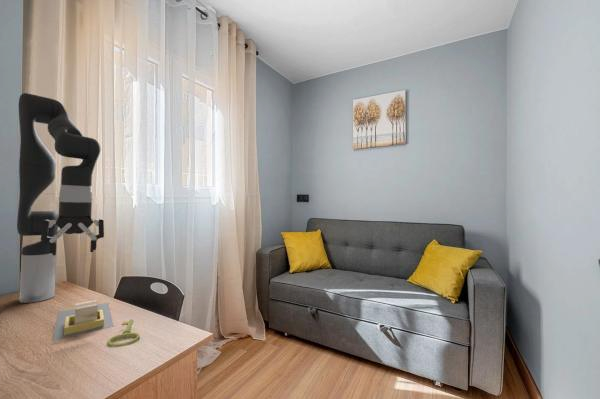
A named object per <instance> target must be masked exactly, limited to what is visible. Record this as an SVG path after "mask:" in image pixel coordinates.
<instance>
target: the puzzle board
mask: <svg viewBox="0 0 600 399" xmlns="http://www.w3.org/2000/svg"><path fill="white" fill-rule="evenodd" d="M97 304H98V303H97ZM74 323H75V308H73V309H68V310H62V311H58V312H57V318H56V321H55V327H54V330H53V336H52V340H51V341H52V342H53V341H58V340H62V339H66V338H70V337H74V336H80V335H83V334H87V333H91V332H95V331H98V330H99V331H100V330H105V329H108V328H112V327H114V322H113V318H112V312H111V309H110V305H109V302H104V303H100V304H98V311H97V320H94V321H89V322H85V323H80V324H75V325H74Z"/></svg>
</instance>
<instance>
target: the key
mask: <svg viewBox="0 0 600 399" xmlns="http://www.w3.org/2000/svg"><path fill="white" fill-rule="evenodd" d="M133 323H134V320H133V319H129V320H128V321H123V322H122V323H121V325H122V326H123V325H126V328H125V330H123V332H122V333H121V334H120V333H119V334H117V335H114V336H111V337H110V338H109V339H108V340H107V343H106V345H107V346H108V347H111V346H117V347H123V346H127V345H131V344H134V343H136V342H137V340H138V341H139V339H140V337H141V336H140V334H139V333H138V332H131V329H132V326H133ZM127 337H128V338H133V339H131V340H129V341H125V342H117V343H116V342H114V341H117V339H118V340H122V339H125V338H126V339H127ZM133 342H134V343H133ZM122 345H123V346H122Z"/></svg>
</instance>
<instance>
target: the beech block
mask: <svg viewBox="0 0 600 399" xmlns="http://www.w3.org/2000/svg"><path fill="white" fill-rule="evenodd" d="M74 305H75V306H74V309H75V323H74V325H75V324H80V323H85V322H89V321H94V320H97V311H98V300H97V299H95V300H93V299H92V300H88V301H84V302H83V301H82V302H78V303H75V304H74Z"/></svg>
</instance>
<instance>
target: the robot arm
mask: <svg viewBox="0 0 600 399" xmlns="http://www.w3.org/2000/svg"><path fill="white" fill-rule="evenodd" d="M18 98H19V99H18V117H19V119H18V120H19V133H20V146H19V149H20V150H19V160H18V161H19V163H18V169H19V170H18V174H19V176H18V177H19V200H18V209H17V210H18V211H17V219H16V220H17V221H16V230H17V234H19V236H22V237H29V236H31V237H32V236H34V237H35V236H40V240H39V241H37V242H35V243H32V244H31V243H30V244H27V245H25V246H23V247H22V249H21V261H20V262H21V263H20V265H21V266H20V267H21V268H20V283H19V299H18V301H19V303H21V304H23V303H24V304H29V303H38V302H43V301H47V300H49V299H51V298H53V297H54V296H55V290H56V289H55V288H56V273H57V272H56V269H57V268H56V267H57V251H58V250H57V248H58V246H57V245H58V244H57V243H58V242H57V241H58V239H59V238H60V237H62V236H63V235H64V234H66V235H72V234H76V235H77V234H81V235H82V234H84V233H85V234H86V235H87V236H88V237H89V238H90V249H89V252H90V253H93V252H94V251H96V250H97V241H98V240H99V239H103V238H104V237H105V227H104V226H105V224H104V219H103V218H99V219H93V218H92V206H93V190H92V188H93V187H92V183H93V173H94V169H95V167H96V163H97V162H98V159H99V157H100V154H101V150H102V149H101V145H100V142H99V141H97V139H95V138H93V137H89V136H83V133H82V132H81V131H80V130H79V128H77V127H76V125H74V123H73V122H72V120H71V119H70V118H71V117H70V116H69V114H68V112H67V110H66V108H65V107H64V105H63V104H62V103H61V102H60V101H58V100H56V99H53V98H50V97H45V96H43V95H42V96H41V95H36V94H33V93H28V92H25V93H21V95H19V97H18ZM35 123H40V124H43V125H47V131H48V133H49V135H50V136H51V137H52V138H53V140H54V150H55V152H56V153H57V154H58V155H60V156H62V157H65V158H71V159H72V158H73V159H78V160H79V159H80V160H82V161H81V163H80V164H78V165H77V164H76V165H67V166H63V167H62V169H61V174H60V175H61V179H60V190H59V195H58V212H57V211H53V210H51V211H50V210H31V209H32V206H33V205H34V203H35V201H36V200H37V199H38V198H39V197H40V195H41V194H42V193H43V192H44V191H45V190H47V188H49V186H50V185H51V184H52V183H53V182H54V181H55V179H56V170H57V168H56V167H57V166H56V165H57V161H56V159H55V158H54V156H53V154H52V153H51V152H50V150H49V149H48V147H46V145H45V144H44V143H43V141H42V140H41V138H40V137H39V135H38V132H37V130H36V127H35V126H36V125H35ZM93 224H95V226H96V227H98V233H97V234H95V233H93V231H92V230H91V229H90V227H91V226H92V225H93Z"/></svg>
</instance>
